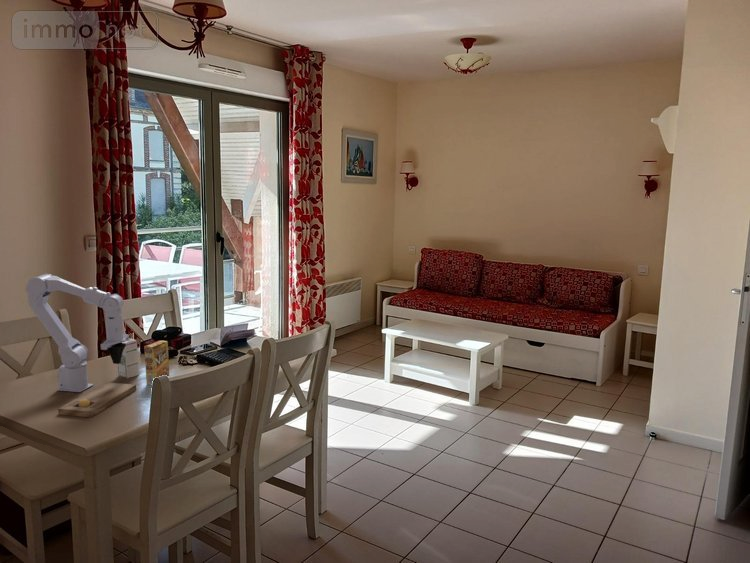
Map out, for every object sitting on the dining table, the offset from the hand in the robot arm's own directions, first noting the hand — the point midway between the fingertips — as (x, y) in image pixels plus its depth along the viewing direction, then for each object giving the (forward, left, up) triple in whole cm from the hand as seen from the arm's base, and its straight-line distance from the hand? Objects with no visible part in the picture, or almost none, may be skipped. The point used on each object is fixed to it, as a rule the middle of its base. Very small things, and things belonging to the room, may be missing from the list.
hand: (116, 363), depth 218 cm
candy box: (+11, +9, -10) cm, 17 cm away
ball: (+2, -21, -8) cm, 23 cm away
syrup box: (-4, +13, -10) cm, 17 cm away
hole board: (+2, -14, -9) cm, 17 cm away
